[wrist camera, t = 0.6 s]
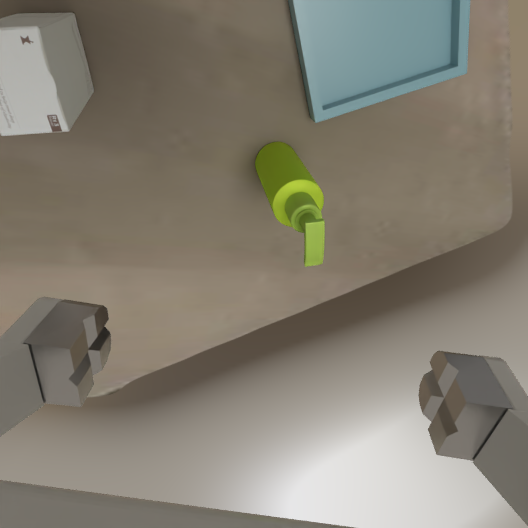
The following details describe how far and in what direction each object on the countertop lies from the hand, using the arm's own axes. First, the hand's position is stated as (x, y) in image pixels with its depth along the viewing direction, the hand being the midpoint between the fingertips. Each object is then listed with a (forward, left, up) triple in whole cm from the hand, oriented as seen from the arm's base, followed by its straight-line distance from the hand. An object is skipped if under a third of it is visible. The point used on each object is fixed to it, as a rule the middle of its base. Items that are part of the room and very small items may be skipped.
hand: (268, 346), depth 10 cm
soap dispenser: (+15, +6, -45) cm, 48 cm away
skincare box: (-5, -14, -45) cm, 48 cm away
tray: (0, +22, -45) cm, 50 cm away
